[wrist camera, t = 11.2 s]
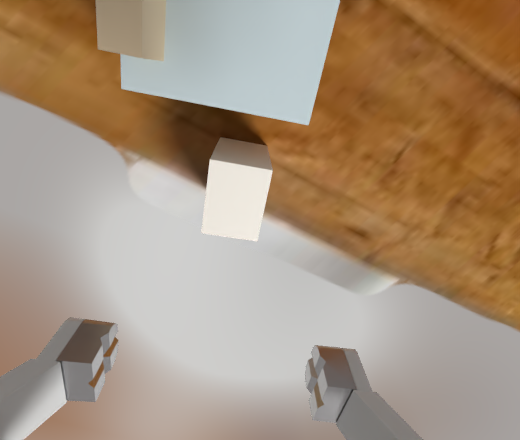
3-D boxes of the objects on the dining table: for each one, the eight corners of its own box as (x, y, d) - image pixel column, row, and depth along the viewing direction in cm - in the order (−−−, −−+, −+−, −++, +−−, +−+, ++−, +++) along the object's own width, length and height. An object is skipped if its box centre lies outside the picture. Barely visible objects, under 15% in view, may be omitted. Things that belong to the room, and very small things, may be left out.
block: (267, 145, 28) (272, 170, 21) (255, 202, 31) (257, 241, 24) (220, 136, 28) (209, 159, 21) (212, 195, 30) (201, 233, 23)
